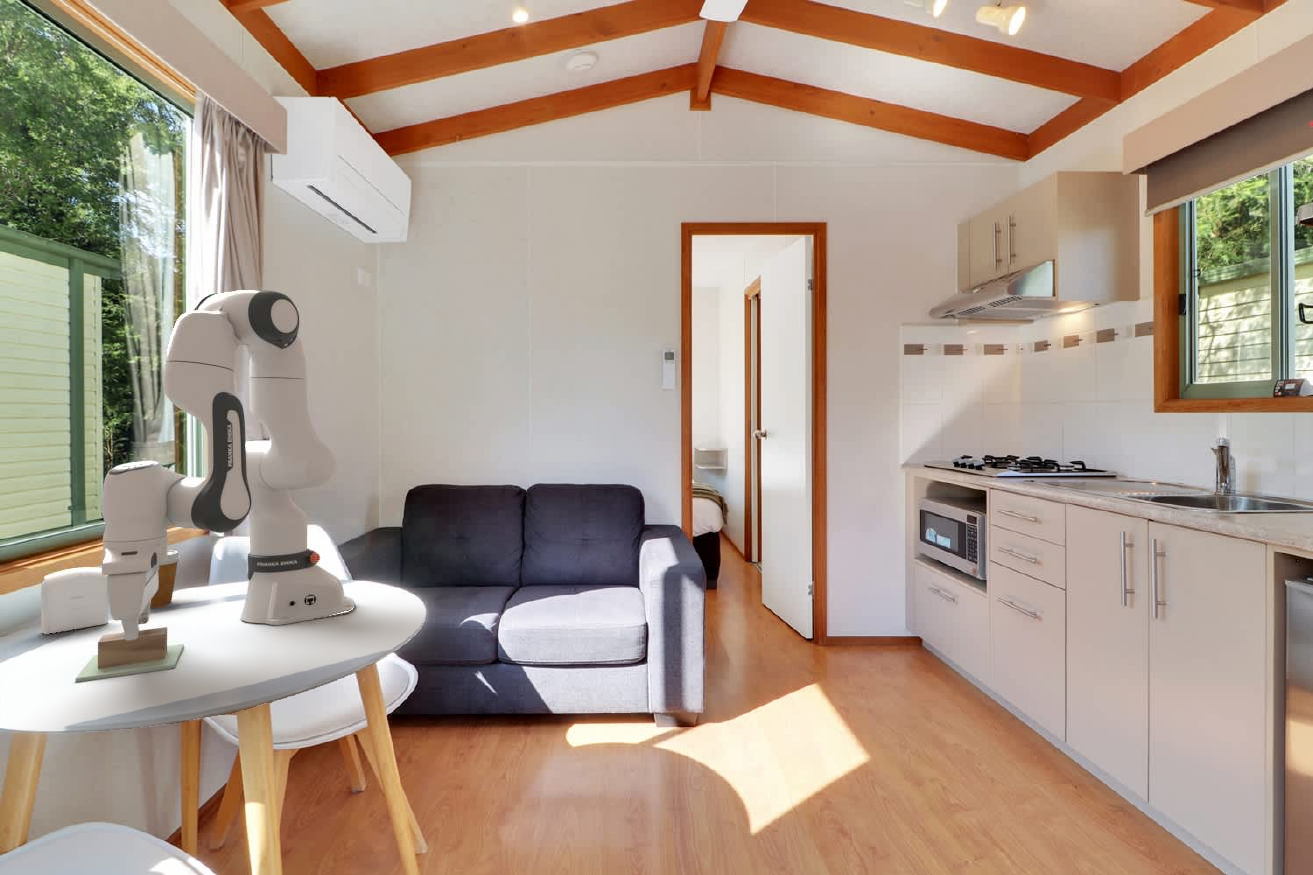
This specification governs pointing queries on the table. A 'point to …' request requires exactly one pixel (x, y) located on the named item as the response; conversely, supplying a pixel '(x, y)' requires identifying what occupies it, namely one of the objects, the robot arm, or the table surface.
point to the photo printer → (73, 599)
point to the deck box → (132, 648)
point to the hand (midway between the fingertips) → (137, 630)
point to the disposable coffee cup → (166, 580)
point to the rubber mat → (130, 666)
